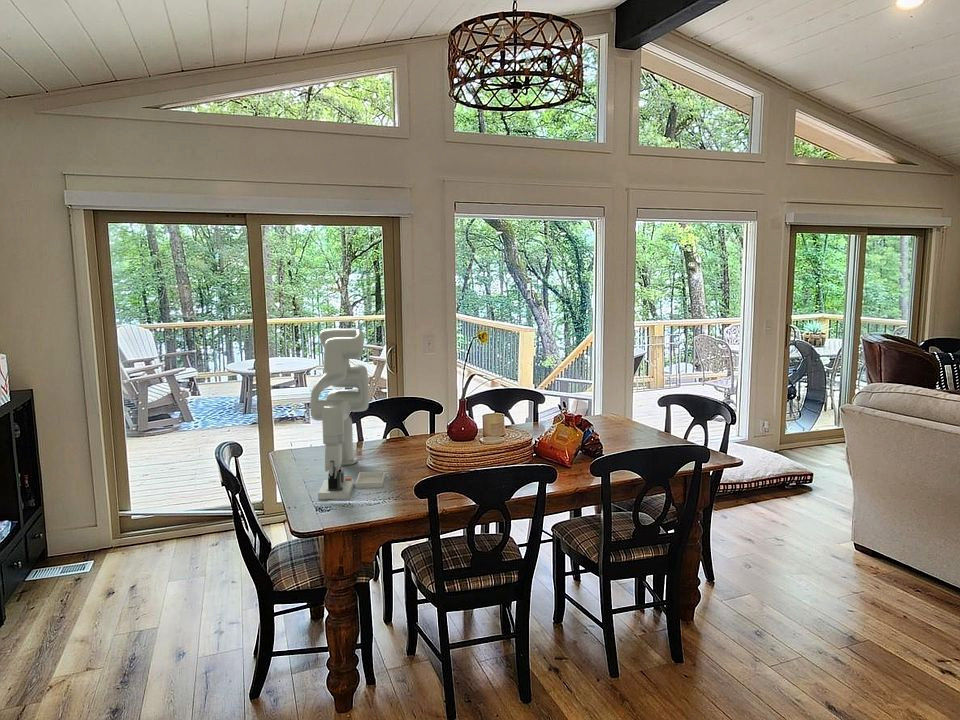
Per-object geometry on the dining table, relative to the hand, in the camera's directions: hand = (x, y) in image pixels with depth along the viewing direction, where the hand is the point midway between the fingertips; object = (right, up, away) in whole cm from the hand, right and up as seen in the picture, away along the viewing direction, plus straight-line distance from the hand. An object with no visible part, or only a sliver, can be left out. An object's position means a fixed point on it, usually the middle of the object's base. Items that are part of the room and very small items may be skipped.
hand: (335, 484), depth 242 cm
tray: (+11, -3, +15) cm, 19 cm away
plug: (0, -5, +1) cm, 5 cm away
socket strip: (0, -4, +4) cm, 6 cm away
